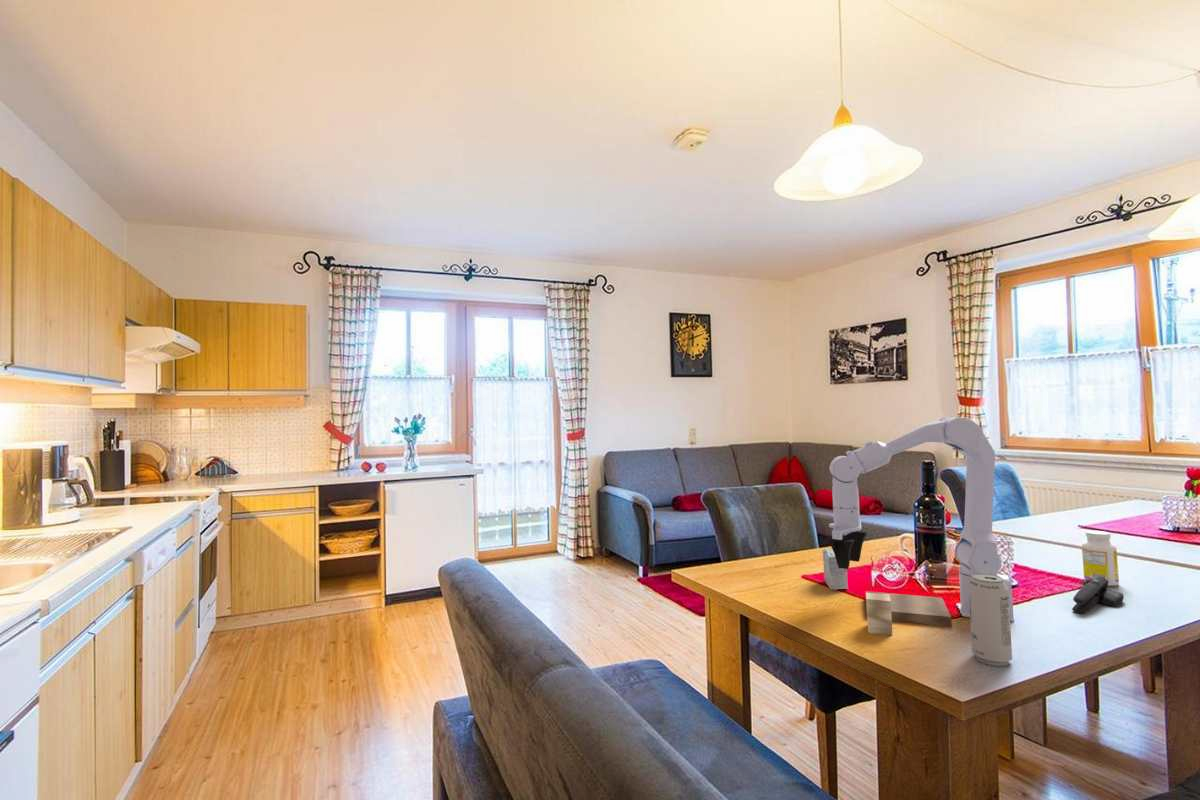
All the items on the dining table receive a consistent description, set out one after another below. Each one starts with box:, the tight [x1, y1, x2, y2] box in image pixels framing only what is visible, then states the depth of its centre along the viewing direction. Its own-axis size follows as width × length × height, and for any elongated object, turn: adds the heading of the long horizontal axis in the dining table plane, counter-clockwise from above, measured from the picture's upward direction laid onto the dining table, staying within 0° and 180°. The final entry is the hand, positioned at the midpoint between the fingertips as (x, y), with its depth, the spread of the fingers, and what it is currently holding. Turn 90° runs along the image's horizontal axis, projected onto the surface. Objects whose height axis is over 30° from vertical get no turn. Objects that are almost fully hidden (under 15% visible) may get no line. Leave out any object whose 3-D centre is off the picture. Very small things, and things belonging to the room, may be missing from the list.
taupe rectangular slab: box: [865, 591, 953, 627], centre depth 127 cm, size 16×13×2 cm
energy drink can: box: [968, 574, 1013, 667], centre depth 102 cm, size 6×6×15 cm
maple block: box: [865, 592, 893, 636], centre depth 118 cm, size 4×4×7 cm
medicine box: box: [822, 549, 849, 591], centre depth 148 cm, size 8×4×9 cm, turn 168°
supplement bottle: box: [1081, 530, 1120, 587], centre depth 142 cm, size 7×7×13 cm
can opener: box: [1071, 577, 1125, 615], centre depth 127 cm, size 18×7×6 cm, turn 120°
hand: (849, 564), depth 132 cm, fingers open, 7 cm apart
